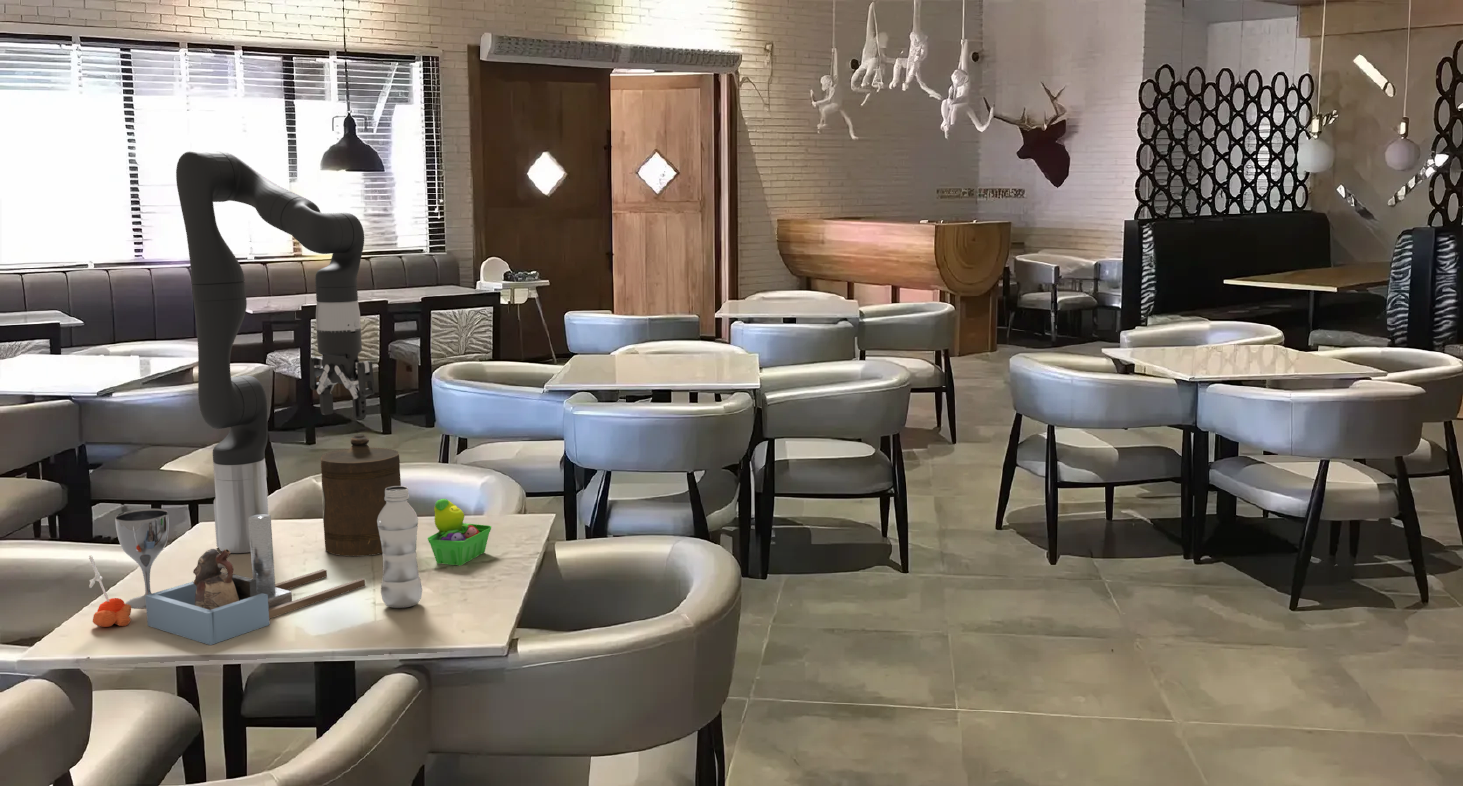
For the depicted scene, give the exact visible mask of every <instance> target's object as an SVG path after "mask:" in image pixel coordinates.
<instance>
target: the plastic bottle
mask: <svg viewBox="0 0 1463 786" xmlns="http://www.w3.org/2000/svg"><path fill="white" fill-rule="evenodd" d="M384 500H385V501H386V505H385V506H384V507H383V509H382V510H381V512H380V514H379V515H378V519H377V525H378V530H379V535H380V540H381V546H382V552H383V553H381V554H382V580H381V583H380V584H381V586H380V594H381V595H380V596H381V599H382V602H383V603H384V605H386V607H389V608H396V609H401V608H402V609H403V608H404V609H405V608H409V607H413V606H416V605H417V604H419V603H420V600H421V599H422V594H423V587H422V581H421V578H420V574H419V566H418V559H417V537H418V529H419V528H418V524H419V518H418V515H417V512H416V511H415V509H414V508H413V507H412V506H411V505H410V503H409V502H408V500H410V495H409V487H408V486H404V485H401V486H393V487H388V488H386V489H385V497H384Z"/></svg>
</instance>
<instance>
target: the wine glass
mask: <svg viewBox="0 0 1463 786" xmlns="http://www.w3.org/2000/svg"><path fill="white" fill-rule="evenodd" d="M114 518H115V520H114V521H115V529H116V535H117V539H118V541H119V544H120V547H121V549H122V551H123V552H124V553H125V554H126V555H127V556H128V557H130V558H131V559H132V560H133V561H135V562H136V563H137V565H138V566H139V568H140V569H141V571H142V572H141V573H142V576H143V581H144V591H145V593H144V595H140V596H136V597H133V598H130V599H128V600H127V601H126V602H124V603H125V604H128V605H131V609H146V598H145V595H149V594H152V590H151V569H152V566H153V563H154V561H156V559H157V558H158V556H159V555H160V554H161V552H162V551H163V550H164V548H165V547H166V545H167V543H168V538H169V528H170V523H169V513H168V510H166V509H163V508H141V509H135V510H133V509H132V510H128V511H125V512H121V513H119V514H116V516H115V517H114Z"/></svg>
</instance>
